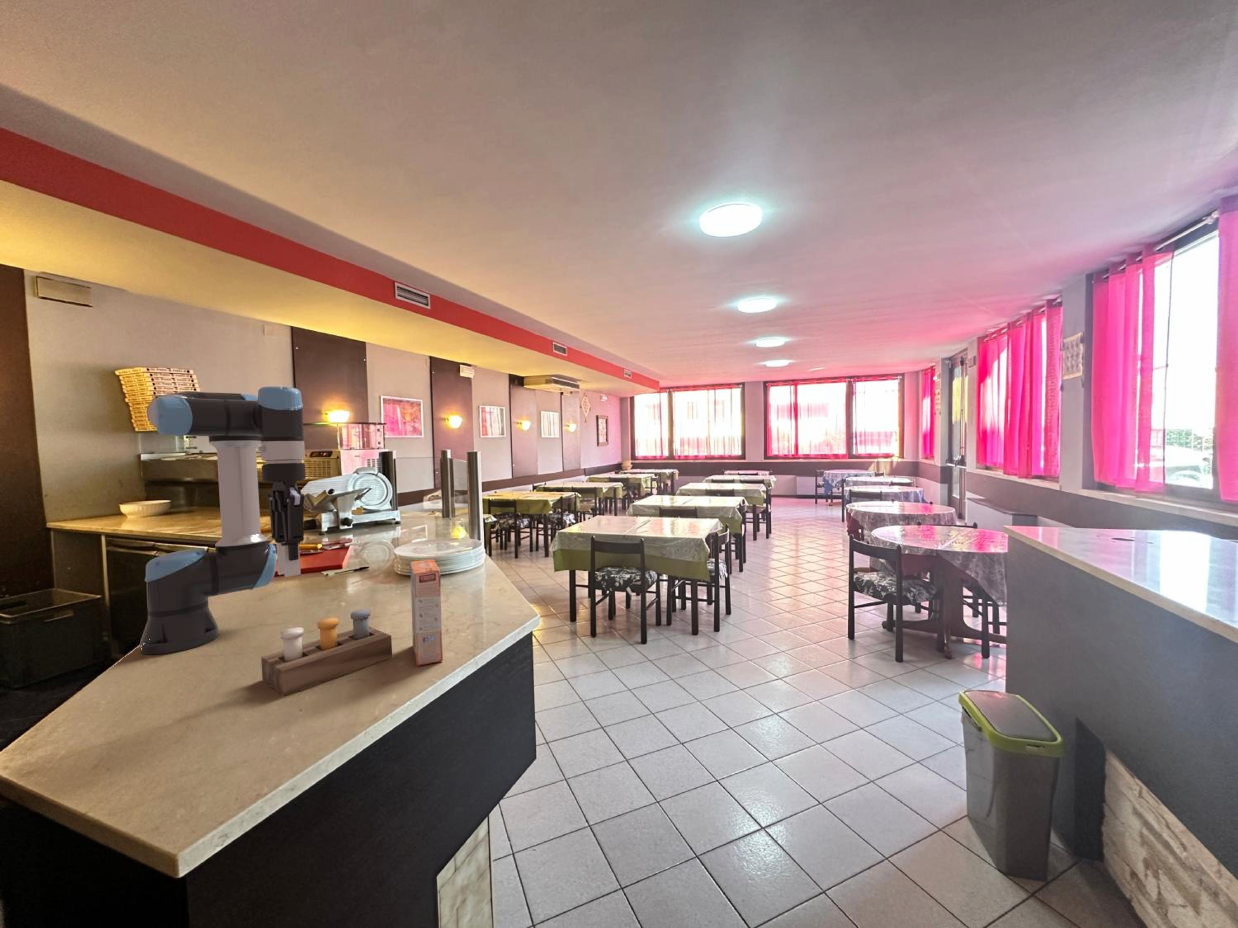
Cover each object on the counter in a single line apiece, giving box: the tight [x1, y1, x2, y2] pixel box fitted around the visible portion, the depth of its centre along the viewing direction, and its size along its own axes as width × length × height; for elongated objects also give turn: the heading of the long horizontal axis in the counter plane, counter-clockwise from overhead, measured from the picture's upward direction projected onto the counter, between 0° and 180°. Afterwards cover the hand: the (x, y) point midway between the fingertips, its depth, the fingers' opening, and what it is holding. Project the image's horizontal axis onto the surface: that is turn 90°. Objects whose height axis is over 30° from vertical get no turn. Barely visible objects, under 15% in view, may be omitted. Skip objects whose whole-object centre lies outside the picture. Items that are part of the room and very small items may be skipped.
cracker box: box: [409, 558, 444, 667], centre depth 117 cm, size 14×6×21 cm, turn 26°
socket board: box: [260, 626, 393, 697], centre depth 110 cm, size 12×22×5 cm, turn 142°
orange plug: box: [316, 617, 340, 651], centre depth 110 cm, size 4×4×7 cm
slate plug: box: [350, 609, 371, 641], centre depth 116 cm, size 4×4×7 cm
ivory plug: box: [280, 626, 305, 663], centre depth 105 cm, size 4×4×7 cm
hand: (289, 574), depth 104 cm, fingers open, 3 cm apart
